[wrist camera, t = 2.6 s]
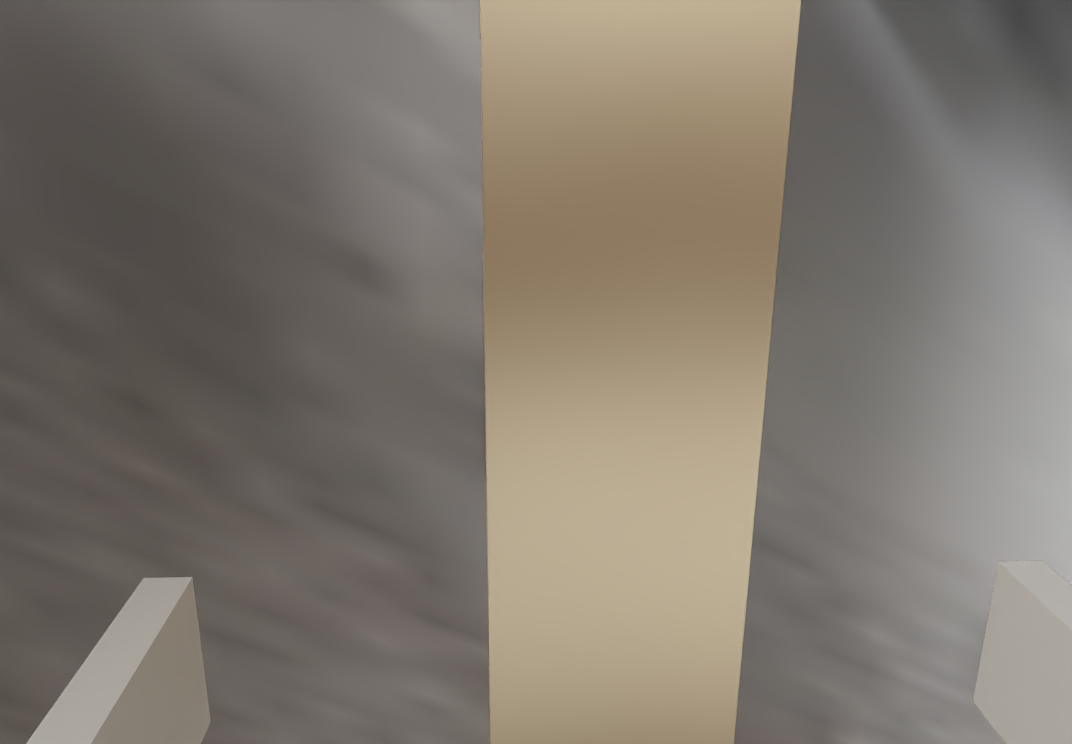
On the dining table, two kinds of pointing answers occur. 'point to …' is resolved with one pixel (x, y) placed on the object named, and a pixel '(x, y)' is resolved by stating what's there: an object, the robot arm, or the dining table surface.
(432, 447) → the dining table surface
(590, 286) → the maple board
